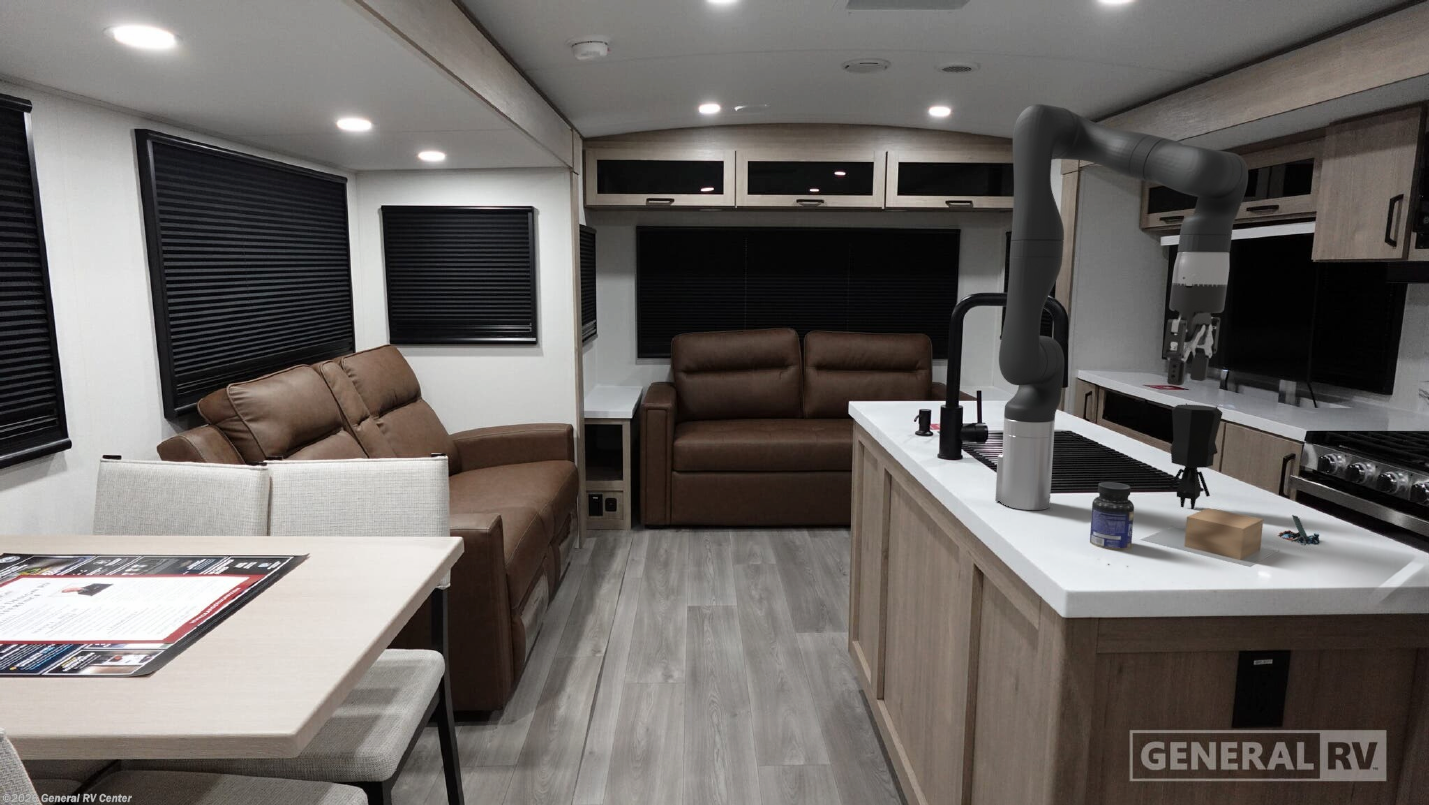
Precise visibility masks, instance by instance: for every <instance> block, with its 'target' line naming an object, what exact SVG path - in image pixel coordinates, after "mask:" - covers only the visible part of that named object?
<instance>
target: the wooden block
mask: <svg viewBox="0 0 1429 805" xmlns="http://www.w3.org/2000/svg"><path fill="white" fill-rule="evenodd" d="M1185 524H1186V525H1185V529H1186V533H1185V545H1184V547H1188V548H1192V549H1196V550H1200V551H1205V552H1209V553H1213V554H1217V555H1221V556H1225V557H1229V558H1233V559H1238V560H1241V559H1243V558H1245V557H1247V556H1249V555H1251V554H1253V553H1255V552H1257V551H1258V550H1260V547H1261V546H1262V537H1263V536H1262V535H1263V526H1264V518H1260V517H1259V518H1258V517H1254V516H1249V515H1245V514H1240V513H1233V512H1229V511H1224V510H1221V509H1220V510H1219V509H1216V508H1209V507H1207V508H1205V509H1203V510H1202V509H1201V510H1199V511H1198V512H1195V513H1192V514H1191V515H1188V516H1186V522H1185Z"/></svg>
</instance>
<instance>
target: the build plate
mask: <svg viewBox="0 0 1429 805" xmlns="http://www.w3.org/2000/svg"><path fill="white" fill-rule="evenodd" d="M1185 533H1186V528H1183V527H1178V526H1174V525H1172V526H1170V527H1168V528H1166V529H1163V530H1160V531H1157V532H1156V533H1153V534H1151V535H1147V536H1146V537H1143V538H1141V539H1140V541H1142V542H1148V543H1151V544H1155V545H1159V546H1164V547H1167V548H1168V547H1169V548H1172V549H1176V550H1180V551H1183V552H1187V553H1192V554H1196V555H1201V556H1204V557H1209V558H1212V559H1216V560H1220V561H1225V562H1228V563H1232V564H1237V565H1241V566H1245V567H1249V568H1251V567H1252V566H1254V565H1256V564H1258V563H1260V562H1262V561H1263V560H1265V559H1267V558H1269V557H1270V556H1273V555H1274V554H1276V553H1278V552H1280V550H1279V549H1276V548H1271V547H1266V546H1262V545H1261V547H1260V550H1258V551H1257V552H1255V553H1253V554H1251V555H1249V556H1247V557H1245V558H1243V559H1241V560H1238V559H1233V558H1229V557H1225V556H1221V555H1217V554H1213V553H1209V552H1205V551H1200V550H1196V549H1192V548H1188V547H1184V545H1185Z"/></svg>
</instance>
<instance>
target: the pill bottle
mask: <svg viewBox="0 0 1429 805" xmlns="http://www.w3.org/2000/svg"><path fill="white" fill-rule="evenodd" d="M1131 490H1132V489H1131V485H1128V484H1124V483H1121V482H1114V481H1113V482H1111V481H1110V482H1109V481H1105V482H1099V483H1098V486H1097V493H1098V494H1099V496H1097V497H1095V498H1094V499H1093V500H1092V503H1091V505H1092V506H1091V518H1090V519H1091V520H1090V534H1089V544H1091V545H1092V546H1095V547H1097V548H1101V549H1105V550H1110V551H1113V550H1114V551H1126V550H1130V549H1131V548H1132V543H1133V542H1132V541H1133V528H1134V527H1133V526H1134V512H1135V505H1134V503H1133V502H1132V501H1131V500H1130V499H1129V496H1130V495H1131Z"/></svg>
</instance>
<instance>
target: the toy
mask: <svg viewBox="0 0 1429 805" xmlns="http://www.w3.org/2000/svg"><path fill="white" fill-rule="evenodd" d="M1218 407H1219V406H1218V405H1216V406H1211V405H1210V406H1209V405H1203V404H1188V403H1185V404H1176V406H1174V407H1173V408H1172V410H1171V414H1172V418H1171V419H1172V436H1173V441H1172V442H1171V445H1170V447H1169V449H1170V454H1171V456H1170V457H1171V464H1175V465H1179V466H1182V467H1184V469H1183V468H1179V470H1178V472H1177V473H1176V474H1175V477H1174V478H1173V480H1172V481H1171V484H1170V485H1169V487H1168V489H1167V490H1168V491H1169V492H1170V491H1172V490H1173V488H1174V487H1175V485H1176V483H1177V481H1178V480H1179V478H1180V476H1181V478H1180V480H1179V482H1178V485H1177V488H1176V498H1180V499H1179V500H1180V507H1181V508H1184V506H1185V502H1186V500H1187V499H1188V500H1190V509H1191V510H1195V506H1196V500H1197V499H1198V498H1199V497H1200V496H1201V492H1202V487H1203V490H1204V494H1205V497H1210V496H1211V495H1210V492H1209V489H1208V486H1207V483H1206V480H1205V478H1204V475H1203V472H1202V471H1201V470H1200V471H1198V468H1199V469H1200V468H1201V469H1204V468H1208V467H1209V468H1210V467H1212V466H1214V457H1215V456H1214V455H1216V454H1219V453H1218V452H1219V451H1218V449H1217V444H1216V439H1217V436H1218V432H1219V429H1220V425H1221V420H1222V417H1223V412H1222V411H1221V409H1219V408H1218ZM1201 486H1202V487H1201Z"/></svg>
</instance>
